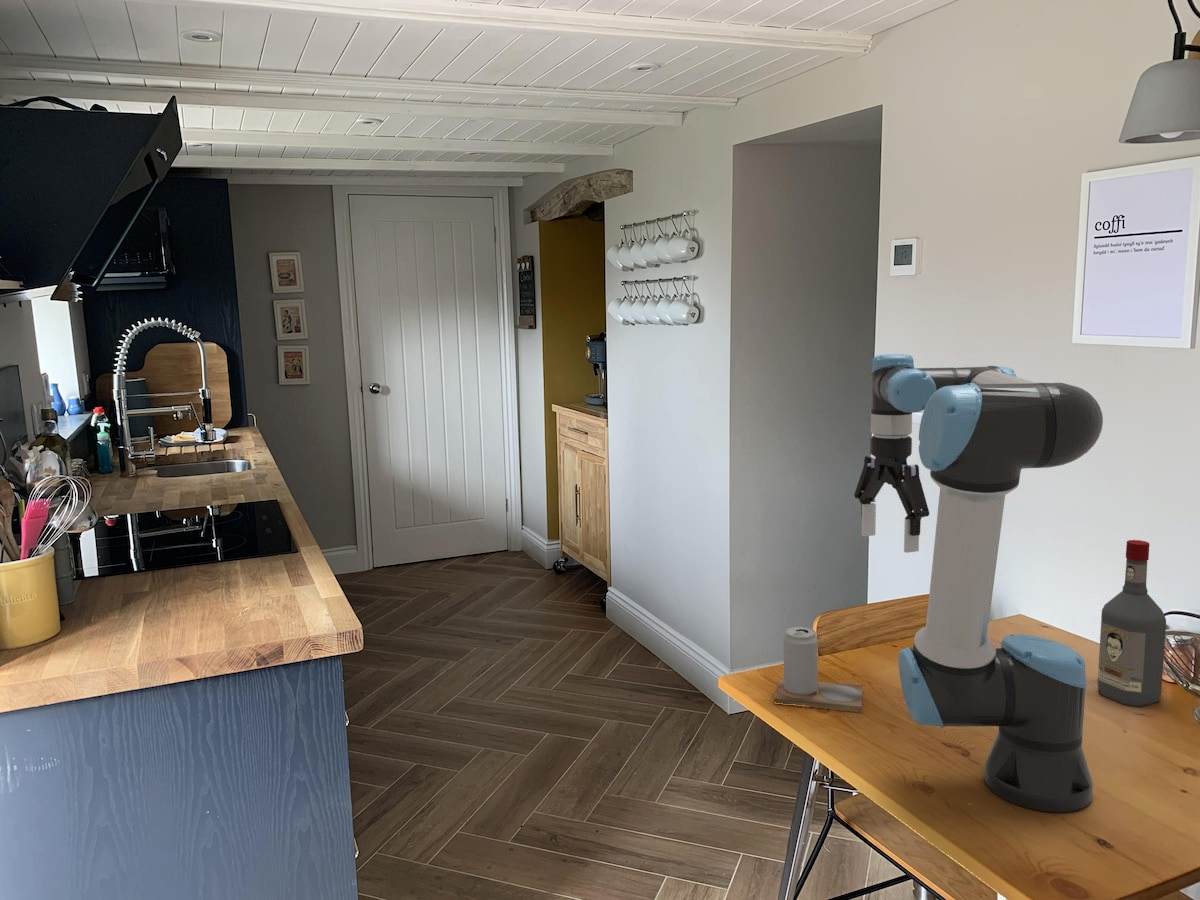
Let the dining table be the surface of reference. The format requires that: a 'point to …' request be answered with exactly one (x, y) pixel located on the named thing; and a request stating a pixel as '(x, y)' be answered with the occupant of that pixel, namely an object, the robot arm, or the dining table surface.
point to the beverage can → (800, 661)
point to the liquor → (1132, 637)
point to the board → (825, 696)
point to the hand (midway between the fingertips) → (889, 543)
